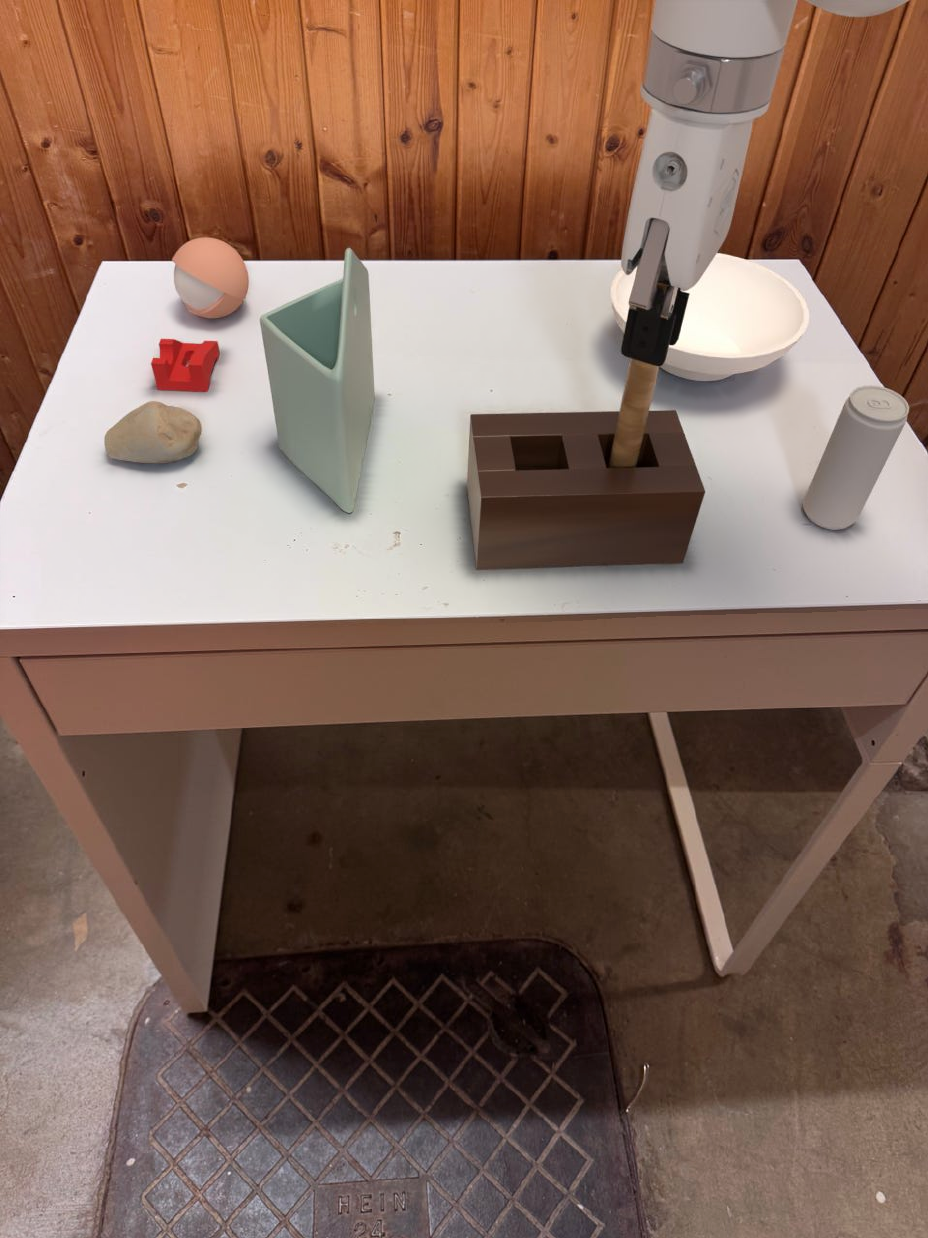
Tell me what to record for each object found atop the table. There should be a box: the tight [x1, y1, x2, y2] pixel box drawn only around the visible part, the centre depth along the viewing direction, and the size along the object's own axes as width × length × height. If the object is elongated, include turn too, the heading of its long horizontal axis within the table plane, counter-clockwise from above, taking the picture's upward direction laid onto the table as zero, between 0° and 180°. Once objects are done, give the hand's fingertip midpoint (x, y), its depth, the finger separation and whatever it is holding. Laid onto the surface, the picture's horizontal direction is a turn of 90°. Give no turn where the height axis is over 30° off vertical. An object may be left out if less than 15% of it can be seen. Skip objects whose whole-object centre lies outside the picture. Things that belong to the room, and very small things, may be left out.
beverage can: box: [802, 384, 910, 531], centre depth 77 cm, size 5×5×12 cm
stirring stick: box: [608, 282, 667, 468], centre depth 70 cm, size 2×2×20 cm
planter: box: [259, 247, 376, 514], centre depth 78 cm, size 16×8×20 cm, turn 177°
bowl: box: [609, 252, 810, 382], centre depth 94 cm, size 20×20×7 cm
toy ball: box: [171, 236, 250, 319], centre depth 96 cm, size 8×8×8 cm
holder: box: [466, 409, 706, 571], centre depth 77 cm, size 10×17×8 cm, turn 94°
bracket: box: [150, 338, 221, 393], centre depth 91 cm, size 6×5×3 cm
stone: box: [103, 400, 203, 464], centre depth 83 cm, size 7×6×8 cm
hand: (649, 346), depth 67 cm, fingers closed on stirring stick, 2 cm apart
